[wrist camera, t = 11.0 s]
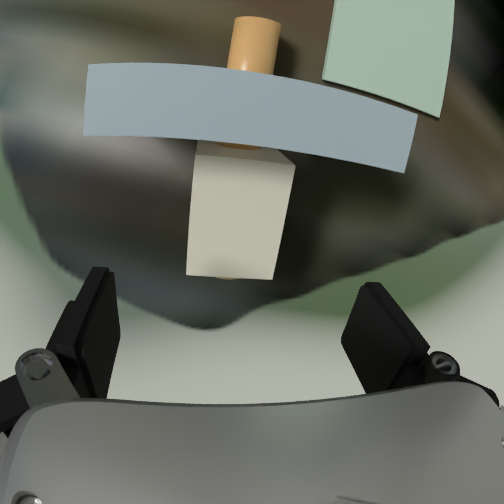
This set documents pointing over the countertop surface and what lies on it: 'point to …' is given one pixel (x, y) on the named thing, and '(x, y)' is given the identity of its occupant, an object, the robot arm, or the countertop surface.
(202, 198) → the plug
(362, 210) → the countertop surface
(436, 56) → the mat
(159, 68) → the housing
